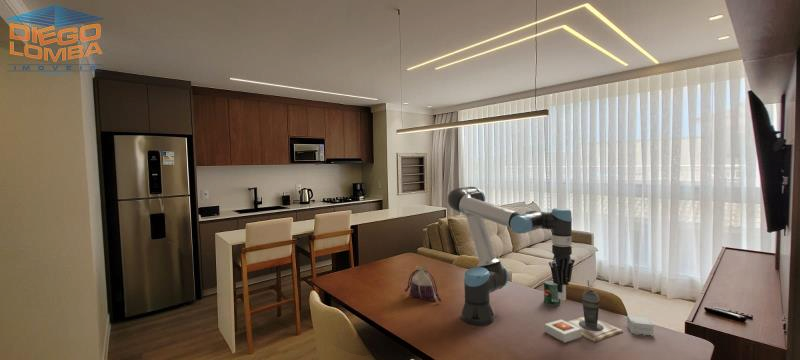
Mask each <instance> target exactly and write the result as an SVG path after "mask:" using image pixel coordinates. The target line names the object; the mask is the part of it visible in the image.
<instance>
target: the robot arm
mask: <svg viewBox="0 0 800 360" xmlns="http://www.w3.org/2000/svg"><path fill="white" fill-rule="evenodd" d="M447 204H448V206H449V207H450V208H451V209H452V210H453V211H456V212H458V213H461V214H462V215H463V216H464V217H466V221H467V224H468V226H469V227H468V228H469V230H470V234H471V238H472V241H473V243H474V247H475V251H476V255H477V258H478V264H477V266H475V267H471V268H468V269H467V270H465V272H464V278H463V283H464V304H463V308H462V311H461V320H462V321H463V322H465V323H467V324H469V325H472V326H487V325H490V324H493V322H494V320H495V318H494V312H493V310H492V305H491V303H490V302H491V301H490V298H491V297H490V294H491V293H493V292H497V290H501V289H503V288H504V287H505V286H506V285H507V284H508V283H509V279H510V275H509V271H508V269H507V268H506V266H505V265H503V264H502V262H501V260H500V259H499V258H497V257H496V253H495V250H494V247H493V244H492V241H491V237H490V234H489V230H488V228H487V223H486V221H491V222H493V223H496V224H499V225H501V226H504V227H508V228H510V229H511V230H512V231H513V232H514V233H515V234H519V235H520V234H527V233H529V232H532V231H536V230H538V229H540V230H543V229H544V230H549V231H551V243H552V245H551V252H552V253H551V254H553V259H552V261H549V262H548V265H549V267H550V271H551V276H552V280H553V282H554V283H556V284H557V291H558V299H560V301H566V300H567V286H569V285H570V282H571V280H572V274H573V272H572V271H573V269H574V268H573V267H574V263H575V259H572V258H571V255H573V254H572V253H573V252H572V251H573V249H572V248H573V247H572V245H573V244H572V242H573V241H572V234H573V233H572V231H573V229H572V227H573V225H572V223H573V218H572V211H571V209H568V208H566V207H563V208H561V207H560V208H559V207H558V208H555V207H554V208H552V209H551V212H550V211H549V212H547V211H538V210H527V211H525V213H521V212H518V211H515V210H513V209H510V208H506V207H504V206H500V205H496V204H493V203H490V202H487V201H486V197H485V193H484V192H483V190H482V189H481V188H479V187H476V186H466V187H465V186H464V187H456V188H454V189H452V190H450V192H449V193H448V195H447ZM485 220H486V221H485Z"/></svg>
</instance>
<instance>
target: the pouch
mask: <svg viewBox="0 0 800 360" xmlns="http://www.w3.org/2000/svg"><path fill="white" fill-rule="evenodd" d="M415 267H416V269H415V270H414V271H412V273H410V276H409V278H408V281H407V282H408V283H407V287H406V288H404V293H406V292H408V291H409V293H408V296H409V297H411V296H412V297H413V298H417V299H422V300H425V301H426V300H427V301H431V302H437V301H439V303H440V302H442V298H441V297H440V296H439V292H438V288H437V283H436V281H435V279H434V276H432V274H431V273H430V272H429V271H428V270H427V269H426V267H422V266H421V265H418V266H415ZM409 289H410V290H409ZM412 297H411V298H412ZM436 298H437V299H436Z"/></svg>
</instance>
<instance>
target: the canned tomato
mask: <svg viewBox="0 0 800 360" xmlns="http://www.w3.org/2000/svg"><path fill="white" fill-rule="evenodd" d="M543 301H544V302H543V303H544V304H546V305H548V306H560V305H561V299H558V291H557V284H556V283H554V282H553V279H545V280H544V281H543Z"/></svg>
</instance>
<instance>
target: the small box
mask: <svg viewBox="0 0 800 360" xmlns="http://www.w3.org/2000/svg"><path fill="white" fill-rule="evenodd" d="M626 320H627V321H626V323H627V324H626V325H627V328H628V329H629V331H630V333H631V334H632V333H634V334H633V335H639V334H643V335H642V336H646V335H651V336H650V337H654V324H653V323H652V322H651V320H650V318H648V316H647V317H646V316H637V315H629V314H627V316H626Z"/></svg>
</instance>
